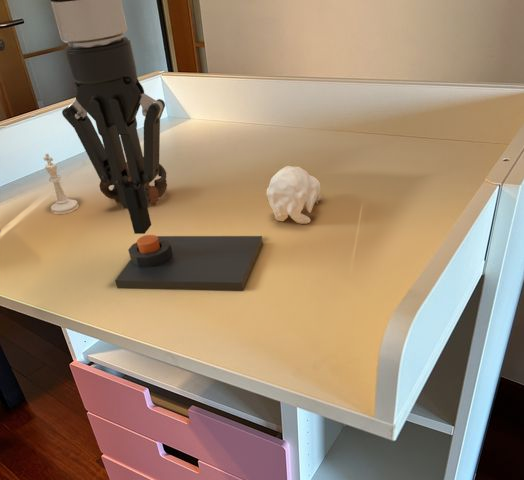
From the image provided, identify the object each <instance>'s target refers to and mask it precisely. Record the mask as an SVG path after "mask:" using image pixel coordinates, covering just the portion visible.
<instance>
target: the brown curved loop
mask: <svg viewBox="0 0 524 480" xmlns="http://www.w3.org/2000/svg"><path fill="white" fill-rule="evenodd" d="M143 159H144V156H143ZM126 164H127V161H126ZM127 169H128V173H129V174H130V172H129V168H128V164H127ZM157 176H158V177H159V178H157V179H153V181H154V182H153V184H154V185H150V183H151V182H148V188H149V192H150V197H151V205H150V206H155V205H156V204H157V202H158V201H159V198H161V197H162V196H163V195H164V194H165V192H166V190H167V189H168V183H167V172H166V170H165V167H163V165H162V164H160V163H159V174H158V175H157ZM130 181H132V180H131V178H130V179H129V182H130ZM110 186H113V187H112V189H110ZM99 190H100V192H101V193H102V194H103V195H104V196H105V197H106V198H108V199H111V200H114V201H115V202H116V203H118V204H121V201H120V197H119V194H118V190H117V187H116V186H115V185H114V184H112V183H109V182H107V183H103V182H102V181H101V180H100V181H99Z"/></svg>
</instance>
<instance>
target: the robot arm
mask: <svg viewBox="0 0 524 480" xmlns="http://www.w3.org/2000/svg"><path fill="white" fill-rule="evenodd" d="M50 5H51V8H52V11H53V15H54V19H55V21H56V23H55V24H56V26H57V30H58V33H59V37H60V40H61V41H62V42H63V43H66V44H68V45H66V46H65V49H64V54H65V59H66V61H67V65H68V69H69V71H70V76H71V79H72V80H73V81H74V84H75V92H74V98H75V99H74V101H73V102H72V103H70V105H68V106H67V107H64V108H63V109H62V112H61V114H62V116H63V117H64V119H65V120H66V121H67V122H68V123H69V124H70V125H71V127H72V128H73V129H74V131H75V133H76V135H77V137H78V139H79V141H80V143H81V144H82V147H83V149H84V150H85V152H86V154H87V157H88V158H89V160H90V162H91V164H92V166H93V168H94V170H95V172H96V174H97V176H98V178H99V180H100V182H101V181H102V182H103V183H107V182H109V183H112V184H114V185H115V186H116V187H117V190H118V194H119V197H120V201H121V203H120V204H121V207H122V208H123V210H128V214H129V218H130V221H131V226H132V229H133V232H134V235H145V234H146V233H147V231H148V230H149V229H150V228H151V226H152V221H151V218H150V213H149V209H148V208H150V206H152V205H151V197H150V192H149V188H148V182H150V183H152V182H153V181H154V180H155V179H156V178H157V176H159V175H158V174H159V164H160V147H161V146H160V141H161V140H160V139H161V136H160V135H161V118H162V115H163V112H164V110H165V107H166V103H165V101H164V100H163V99H161V98H158V99H154V98H153V97H150V96H149V95H148V94H146V93H145V89H144V87H143V85H142V83H141V82H140V81H139V79H138V73H137V66H136V61H135V57H134V52H133V48H132V42H131V40H130V39H129V38H128V37H126V36H124V35H125V34H126V33H127V31H128V25H127V21H126V16H125V15H126V14H125V12H124V7H123V1H122V0H50ZM140 107H141V114H142V116H143V117H144V121H143V150H142V146H141V142H140V137H139V133H138V129H137V128H138V121H137V115H138V113H139V110H140ZM88 115H89V116H90V117H91V118H92V119H93V121H94V122H95V125H96V128H95V126H94V124H93V122H92V120H91V118H90V117H89V116H88ZM96 129H97V130H96ZM100 136H101V138H100ZM143 157H144V159H143ZM126 162H127V164H128V168H129V172H130V174H129V173H128V169H127V164H126ZM130 178H131V180H132V181H130V182H129V179H130ZM114 185H113V186H114Z"/></svg>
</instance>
